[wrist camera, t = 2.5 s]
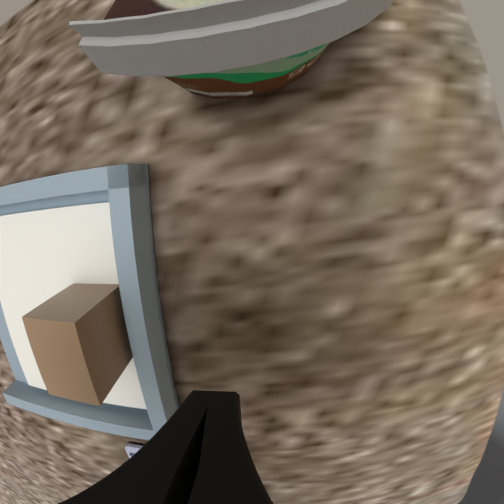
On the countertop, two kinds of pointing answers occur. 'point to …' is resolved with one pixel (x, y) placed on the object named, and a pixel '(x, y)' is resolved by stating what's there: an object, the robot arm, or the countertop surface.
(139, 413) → the open box
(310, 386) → the countertop surface
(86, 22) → the food container
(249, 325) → the countertop surface
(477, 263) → the countertop surface
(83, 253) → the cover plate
